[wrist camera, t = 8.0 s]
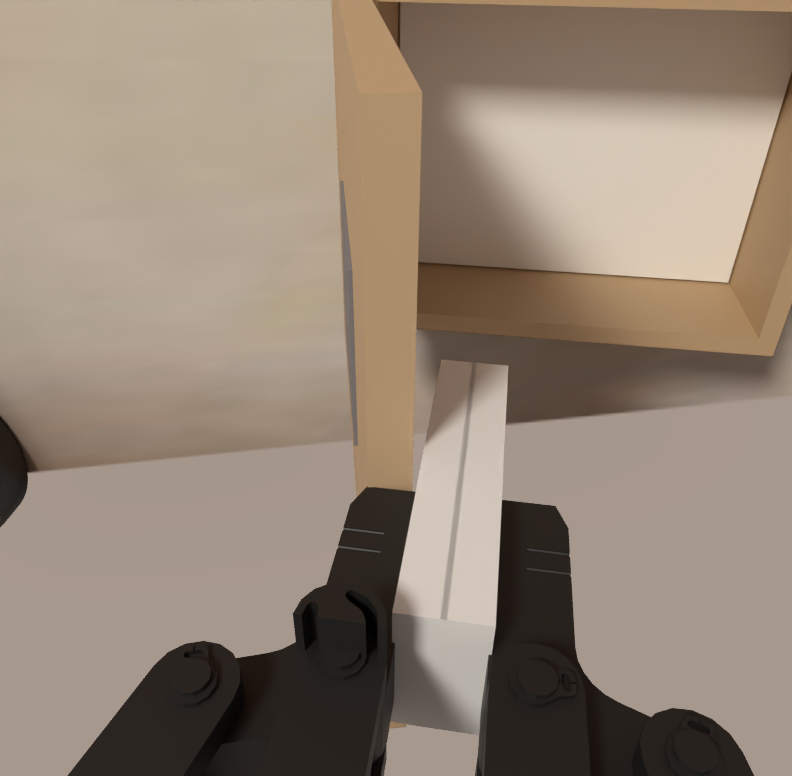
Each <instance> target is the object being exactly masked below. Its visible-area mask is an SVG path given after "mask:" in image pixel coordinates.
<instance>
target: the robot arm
mask: <svg viewBox="0 0 792 776" xmlns="http://www.w3.org/2000/svg"><path fill="white" fill-rule="evenodd" d="M507 384H508V366H507V365H496V364H485V363H475V362H463V361H452V360H441V364H440V369H439V374H438V380H437V385H436V390H435V395H434V400H433V405H432V411H431V416H430V421H429V426H428V431H427V436H426V441H425V447H424V452H423V457H422V462H421V467H420V473H419V477H418V483H417V488H416V492H412V491H404V490H395V489H387V488H378V487H368V486H367V487H366V488H365V489H364V490H363V491H362V492H361V493H360V494H359V496H358V497H357V498H356V499H355V500H354V501H353V502H352V503H351V504H350V507H349V511H348V514H347V517H346V521H345V524H344V530H343V531H342V534H341V538H340V541H339V545H338V549H337V551H336V555H335V558H334V561H333V565H332V568H331V571H330V575H329V578H328V582H327V585H325V586H322V587H319V588H316V589H314V590H313V591H312V592H310V593H309V594H308V595H307V596H305V597H304V598H303V599H301V601H300V603H299V604H298V606H297V608H296V609H295V611H294V613H293V618H294V627H295V636H296V642H295V643H294V644H292V645H290V646H288V647H286V648H284V649H282V650H278V651H274V652H271V653H266V654H260V655H254V656H247V657H241V658H235V656H234V654H233V653H232V652H230V651H229V650H228V649H226V648H225V647H223V646H222V645H220V644H216V643H211V642H206V641H201V642H195V643H188V644H184V645H182V646H180V647H178V648H176V649H174V650H172V651H170V652H168V653H167V654H166V655H165V656H164V657H163V658H162V659H161V660H159V661H158V662H157V663H156V664H155V665H154V666H153V668H152V669H151V670H150V671H149V673H148V674H147V675H146V676H145V678H144V679H143V680H142V682H141V683H140V684H139V686H138V687H137V688H136V689H135V691H134V692H133V693H132V694H131V696H130V697H129V698H128V699H127V701H126V702H125V703H124V705H123V706H122V707H121V708H120V710H119V711H118V712H117V713H116V715H115V716H114V717H113V719H112V720H111V721H110V723H109V724H108V725H107V726H106V728H105V729H104V730H103V731H102V733H101V734H100V735H99V736H98V738H97V739H96V740H95V742H94V743H93V744H92V745H91V747H90V748H89V749H88V750H87V752H86V753H85V754H84V756H83V757H82V758H81V759H80V761H79V762H78V763H77V764H76V766H75V767H74V768H73V770H72V771H71V772H70V773H69V775H68V776H383V775H384V770H385V764H386V743H387V738H388V732H389V726H390V720H391V722H396V723H403V724H410V725H416V726H422V727H428V728H435V729H443V730H449V731H456V732H463V733H469V734H476V735H479V747H478V759H477V765H476V773H475V776H754V775H753V773H752V771H751V768H750V766H749V764H748V762H747V760H746V758H745V756H744V754H743V752H742V751H741V749H740V748H739V746H738V745H737V744H736V742H735V741H734V739H733V738H732V736H731V735H730V734H729V733H728V732H727V731H726V730H724V729H723V728H722V727H721V726H720V725H718V724H717V723H716V722H715V721H714V720H712V719H710V718H708V717H706V716H704V715H701V714H699V713H697V712H695V711H692V710H685V709H675V708H671V709H668V710H665V711H661V712H658V713H655V714H654V715H653V716H652V717H649V716H647V715H645V714H643V713H641V712H638V711H636V710H634V709H632V708H630V707H627V706H625V705H623V704H621V703H619V702H617V701H615V700H613V699H612V698H610V697H608V696H606V695H605V694H603V693H602V692H601V691H600V690H599V689H598V688H597V687H595V686H594V685H593V684H592V683H591V681H590V680H589V679H588V678H587V676H586V675H585V674H584V672H583V670H582V668H581V666H580V664H579V662H578V659H577V654H576V649H575V636H574V619H573V601H572V584H571V577H570V574H571V568H570V557H569V551H570V550H569V534H568V527H567V525H566V524H565V522H564V520H563V518H562V517H561V515H560V513H559V512H558V510H557V508H556V506H550V505H541V504H533V503H523V502H514V501H506V500H502V488H503V487H502V486H503V467H504V445H505V425H506V405H507ZM27 482H28V476H27V468H26V464H25V461H24V458H23V455H22V453H21V450H20V448H19V446H18V444H17V443H16V441H15V439H14V438H13V436H12V435H11V433H10V432H9V430H8V429H7V428H6V426H5V425H4V424H3V423H2V421H1V420H0V527H1V526H2V525H3V524H4V523H5V521H6V520H7V519H8V518H9V517H10V516H11V514H12V513H13V512H14V511H15V509H16V508H17V507H18V506H19V505H20V503H21V502H22V500H23V498H24V496H25V493H26V490H27Z"/></svg>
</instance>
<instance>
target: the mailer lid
mask: <svg viewBox="0 0 792 776" xmlns="http://www.w3.org/2000/svg"><path fill="white" fill-rule="evenodd" d="M332 22H333V47H334V72H335V97H336V122H337V146H338V171H339V196H340V221H341V246H342V271H343V295H344V320H345V340H346V354H347V368H348V382H349V396H350V410H351V424H352V438H353V452H354V466H355V480H356V495H357V497H358V496H359V494H360V493H361V492H362V491H363V490H364V489H365V488H366V487H367V486H368V487H378V488H387V489H395V490H404V491H412V477H413V476H412V475H413V437H414V399H415V361H416V322H417V283H418V244H419V206H420V167H421V128H422V91H421V89H420V87H419V85H418V83H417V81H416V80H415V78H414V76H413V74H412V72H411V70H410V69H409V67H408V65H407V63H406V61H405V59H404V58H403V56H402V54H401V52H400V50H399V48H398V46H397V45H396V43H395V41H394V39H393V37H392V35H391V34H390V32H389V30H388V28H387V26H386V24H385V23H384V21H383V19H382V17H381V15H380V13H379V11H378V10H377V8H376V6H375V4H374V2H373V0H332ZM399 727H406V724H403V723H396V722H391V720H390V726H389V728H399Z"/></svg>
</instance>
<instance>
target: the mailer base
mask: <svg viewBox="0 0 792 776" xmlns="http://www.w3.org/2000/svg"><path fill="white" fill-rule="evenodd" d="M373 2H374V4H375V6H376V8H377V10H378V11H379V13H380V15H381V17H382V19H383V21H384V23H385V24H386V26H387V28H388V30H389V32H390V34H391V35H392V37H393V39H394V41H395V43H396V45H397V46H398V48H399V50H400V52H401V54H402V56H403V58H404V59H405V61H406V63H407V65H408V67H409V69H410V70H411V72H412V74H413V76H414V78H415V80H416V81H417V83H418V85H419V87H420V89H421V91H422V128H421V167H420V206H419V244H418V283H417V322H416V329H426V330H439V331H451V332H464V333H477V334H490V335H503V336H516V337H529V338H542V339H555V340H568V341H581V342H594V343H607V344H620V345H632V346H645V347H658V348H671V349H684V350H697V351H710V352H723V353H736V354H749V355H762V356H773V354H774V351H775V348H776V346H777V343H778V340H779V337H780V335H781V332H782V329H783V327H784V324H785V321H786V318H787V316H788V313H789V310H790V307H791V305H792V0H373Z"/></svg>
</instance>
